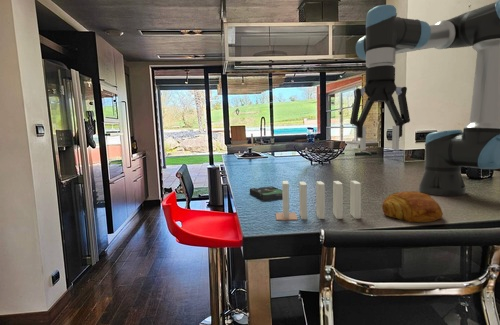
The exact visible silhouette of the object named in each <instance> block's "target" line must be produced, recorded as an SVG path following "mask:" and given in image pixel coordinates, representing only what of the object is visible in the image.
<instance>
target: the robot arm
mask: <svg viewBox="0 0 500 325" xmlns="http://www.w3.org/2000/svg"><path fill="white" fill-rule="evenodd" d="M397 15H398V13H397V7H396V6H395V5H392V4H382V5H381V4H380V5H377V6H375V7H373V8H371V9H370V10H369V11H367V13H366V19H365V35H364V36H362V37H361V38H359V39H358V40H357V41H356V43H355V53H356V55H357V57H358V58H359V59H360V60H362V61H365V67H366V70H365V85H364V87H363V88H361V87H360V88H356V89H354V90H353V95H354V99H353V105H352V111H351V116H350V120H349V123H350V125H353V126H355V127H356V138H358V139H359V150H360V151H361V150H362V151H366V150H367V149H366V148H367V147H366V146H367V143H366V142H367V137H366V136H367V126H364V124H365V122H366V120H367V117H368V116H369V113H370V112H371V108H372V107H373V105H374V104H375V103H376V102H384V103H385V105H386V106H387V109H388V111H389V113H390V115H391V117H392V119H393V122H394V125H392V126H391V127H392V134H391V136H392V137H391V149H393V150H399V149H400V148H399V147H400V146H399V144H400V137H401V138H402V137H403V126H404V125H405V124H408V123H409V124H410V122H411V118H410V112H409V107H408V101H407V100H408V99H407V96H406V95H407V91H408V88H407V86H403V87H401V86H397V85H396V82H395V81H396V67H395V64H396V55H397V54H404V53H409V52H415V51H416V52H417V51H421V50H427V49H436V50H446V49H456V48H457V49H458V48H467V47H472V49H473V50H474V51H475V52H476V59H475V60H476V61H475V71H474V78H473V86H472V87H473V88H472V96H471V107H470V116H469V123H468V124H467V125H465V126H464V127H463V130H462V129H451V130H444V131H443V130H442V131H433V132H429V133H428V134H427V135H426V136H425V143H424V148H425V149H424V172H423V174H422V178H421V179H420V182H419V185H418V192H421V193H424V194H428V195H433V196H434V195H435V196H451V197H452V196H453V197H455V196H456V197H457V196H463V195H465V194H467V193H466V189H467V188H466V184H465V181H464V179H463V176H462V172H461V170H462V168H463V167H464V168H473V169H480V170H498V169H500V0H497V1H495V2H493V3H489V4H487V5H484V6H480V7H478V8H476V9H473V10H470V11H467V12H463V13H462V14H459V15H457V16H455V17H452V18H449V19H446V20H440V21H438V22H437V23H435V24H429V23H428V22H427V21H423V20H420V19H413V18H406V17H405V18H404V17H400V16H397ZM395 92H396V95H397V101H398V106H396V102H395V99H394V96H393V94H394V93H395ZM364 93H365V95H366V96H367V100H366V102H365V104H364V107H363V109H362V111H361V113H360V107H361V103H362V97H363V96H364ZM397 107H399V110H398V108H397ZM359 114H360V115H359Z"/></svg>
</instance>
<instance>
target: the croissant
mask: <svg viewBox="0 0 500 325" xmlns="http://www.w3.org/2000/svg"><path fill="white" fill-rule="evenodd" d="M381 208H382V211H383V213H384V215H385V216H387V217H389V218H393V219H398V220H401V221H405V222H407V223H408V222H409V223H412V222H413V223H431V222H434V221H438V220H440V219H442V218H443V216H444V214H443V211H442V209H441V208H442V207H441V206H440V204H439V203H438V202H437V201H436V200H435V199H433V197H431V194H427V193H423V192H421V191H414V190H413V191H412V190H411V191H400V192H395V193H392V194H390V195H388V196H387V197H386V198H385V199H384V201H383V202H382V206H381Z"/></svg>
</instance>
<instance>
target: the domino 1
mask: <svg viewBox="0 0 500 325" xmlns="http://www.w3.org/2000/svg"><path fill="white" fill-rule="evenodd" d="M281 187H282V188H281V190H282V195H283V199H282V213H283V217H284V218H289V213H290V183H289V181H288V180H281Z"/></svg>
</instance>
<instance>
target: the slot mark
mask: <svg viewBox="0 0 500 325" xmlns="http://www.w3.org/2000/svg"><path fill="white" fill-rule="evenodd" d="M275 218H276V221H298V216H297V214H296V212H289V218H284V217H283V212H275Z"/></svg>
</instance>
